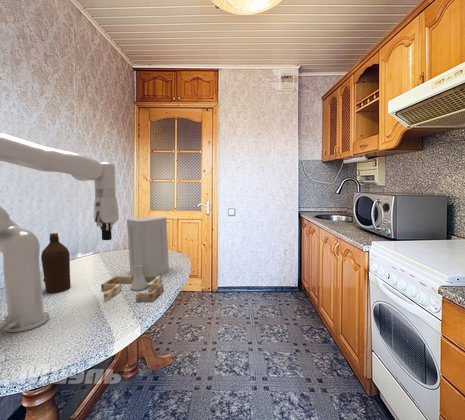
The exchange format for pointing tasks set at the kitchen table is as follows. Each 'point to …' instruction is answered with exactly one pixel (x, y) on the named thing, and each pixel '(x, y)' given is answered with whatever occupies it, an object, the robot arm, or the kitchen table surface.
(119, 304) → the kitchen table surface
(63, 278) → the olive oil
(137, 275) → the flask
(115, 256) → the kitchen table surface
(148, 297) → the zigzag wooden frame
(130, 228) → the paper bag
